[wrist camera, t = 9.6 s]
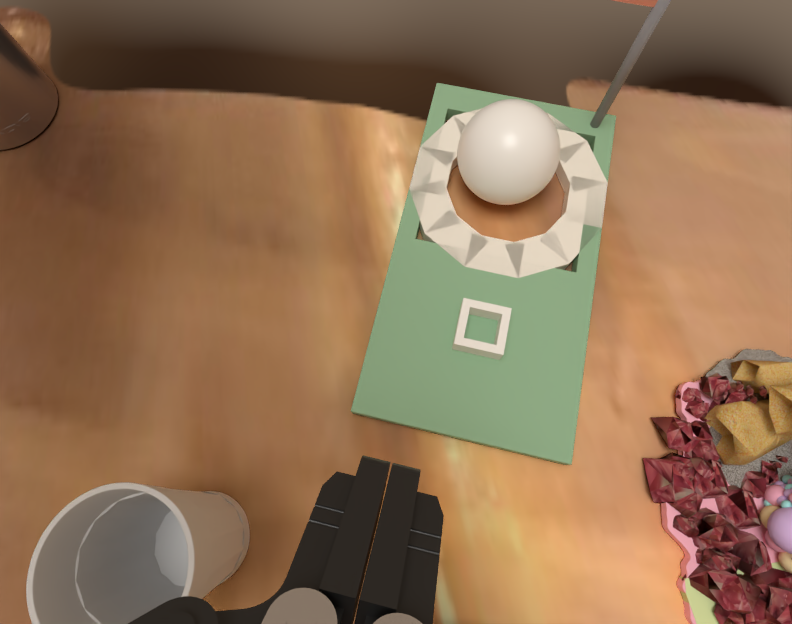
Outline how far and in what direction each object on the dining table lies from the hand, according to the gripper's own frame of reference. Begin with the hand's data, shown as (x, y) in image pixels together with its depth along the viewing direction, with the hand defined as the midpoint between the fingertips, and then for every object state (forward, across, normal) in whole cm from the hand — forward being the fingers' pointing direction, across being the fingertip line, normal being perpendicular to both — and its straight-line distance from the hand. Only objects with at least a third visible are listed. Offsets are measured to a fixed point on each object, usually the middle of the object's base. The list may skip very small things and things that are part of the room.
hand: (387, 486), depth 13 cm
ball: (+33, +3, +3) cm, 33 cm away
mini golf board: (+31, +4, -5) cm, 31 cm away
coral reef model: (+21, +30, -15) cm, 39 cm away
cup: (+13, -12, -23) cm, 29 cm away
